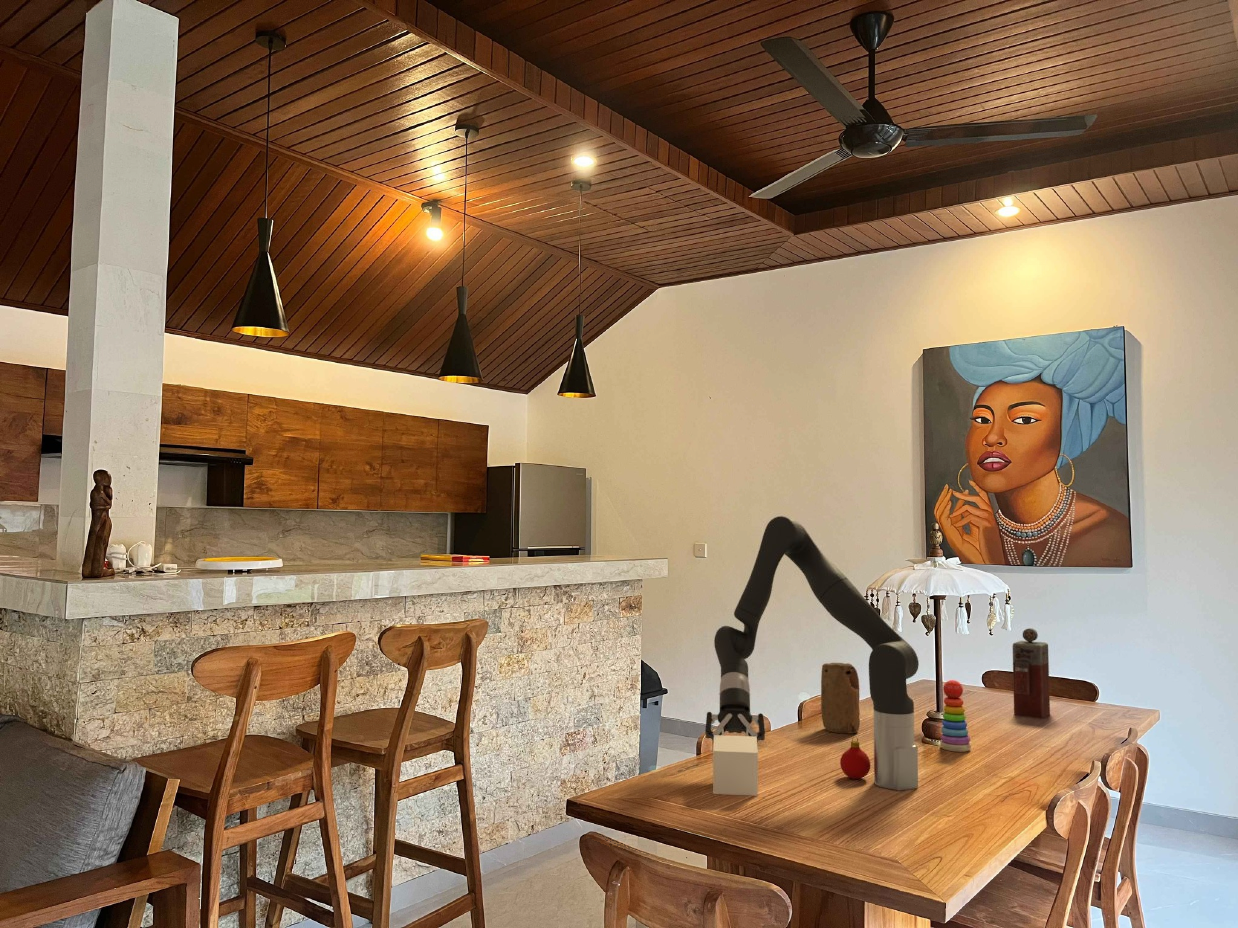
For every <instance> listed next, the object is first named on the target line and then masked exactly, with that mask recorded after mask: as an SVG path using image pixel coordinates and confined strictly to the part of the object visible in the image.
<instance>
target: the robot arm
mask: <svg viewBox="0 0 1238 928" xmlns="http://www.w3.org/2000/svg"><path fill="white" fill-rule="evenodd" d="M760 542H761V543H760V546H759V549H758V551H757V552H758V553H757V555H756V557H755V558H756V560H755V562H754V565H753V568H752V571H751V574H750V575H749V579H748V581H747V584H746V585H745V588H744V590H743V592H742V594H741V596H740V598H739V601H738V602H737V605H736V607H735V609H734V611H733V616H734V618H735V619H737V621H739V622H740V623H742V624H743V627H744V628H743V631H742V630H740V629H737V628H736V627H735V628H734V627H733V626H730V625H722V626H721V627H719V628H718V629H717V631H716V632H715V634H714V640H713V641H714V642H713V643H714V650H715V652H716V653H715V654H716V656H717V657H716V658H717V660H718V663H719V665H720V666H719V667H720V683H719V693H718V694H719V712H718V714H713V713H712V712H711V711H707V712H706V718H705V730H704V731H705V733H704V734H705V738H706V739H710V740H712V744H713V743H714V735H725V733H727V732H728V733H729V734H731V733H732V734H733V733H737V734H742V733H744V734H745V736H753V737H757V749H759V748H758V746H759V745H758V742H759V741H764V740H765V739H766V737H765V736H766V729H765V720H764V714H763V713H758V714H757V715H753V714H751V693H750V692H751V691H750V687H751V686H750V682H749V665H748V662H747V659H748V658H749V657H751V655H752V654H753V652H754V649H755V646H756V639H757V633H758V628H759V625H760V621H761V620H762V617H763V615H764V612H765V610H766V608H767V606H768V605H769V601H770V598H771V594H772V591H773V583H774V578H775V575H776V572H777V569H778V566H779V564H780V562H781V560H782V558H783V557H784V556H785V557H787V558H789V560H790V561H792V562H793V564H795V566H797V568H798V569H799V570H800V571H801V573H803V575H804V577H805V579H806V580H807V583H808V585H809V587H810V589H811V592H812V593H813V595H814V596H815V598H816V600H817V601H818V602H819V604H821V605H822V607H824V609H825V610H826V611H827V612H828V614H829V615H830V616H832V618H834V620H835V621H837V622H838V623H839V624H842V625H843V626H844V627H845V628H847V629H849V630H850V631H852V632H853V633H854V634H856V635H857V636H858V637H860V638H861V639H862V640H863V641H864V642H865V643H866V644H867V645H868V646H869V647H870V648H871V652H870V654H869V658H868V681H869V683H868V684H869V694H870V695H869V696H870V699H871V701H872V704H873V705H872V706H873V707H872V708H873V772H874V773H873V776H874V777H873V778H874V779H873V780H874V784H875V785H876V786H878V787H880V788H884V789H890V790H896V791H904V790H911V789H917V788H919V762H918V761H919V759H918V758H919V756H918V755H919V754H918V753H919V751H918V746H917V745H915V707H914V706H915V704H914V700H913V698H911V697H909V694H908V689H907V680H908V679H910V678H912V677H914V676H915V675H916V673H917V672H918V669H919V662H920V661H919V657H918V656H917V652H916V651H915V650H914V648H913V646H912V645H910V644H909V642H907V641H906V640H905V639H904V638H903V637H901V635H899V633H897V632H896V630H895V629H893V628H892V627H891V626H890V625H889V624H888V623H887V622H886V621H885V620H884V619H883V618H882V617H881V616H880V615H879V613H878V612H877V610H875V608H874V607H873V606H872V605H871V604H870V603H869V602H868V600H867V599H866V598H865V597H864V596H863V594H862V593H861V592H860V591H859V589H858V588H856V586H855V585H854V584H853V583H852V581H851V580H850V579H849V578H848V577H847V576H846V575H845V574H844V573H843V572H842V571H841V570H840V569H839V567H837V566H836V565H835V564H834V562H832V561H831V560H830V559H828V557H827V556H826V555H825V554H824V553H823V552H822V550H821V549H820V548H819V547H818V545H817V543H815V541H814V540H813V539H812V537H811V536H810V534H809V532H808V531H807V530H806V528H805V527H804V526H803V525H802V524H801V523H800V522H798V521H796V520H795V519H792V518H790V517H787V516H783V515H780V516H776V517H774V518H772V519H770V520H769V522H768V523H767V524H766V526H765V528H764V532H763V535H762V539H761V541H760ZM716 721H718V723H719V724H718V725H717V727H716V729H715V730H712V725H714V724H715V722H716ZM753 722H754V724H755V725H756V726H758V732H757V731H756V730H755V729H754V728H753V726H752V725H751V724H752V723H753Z"/></svg>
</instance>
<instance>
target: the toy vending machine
mask: <svg viewBox="0 0 1238 928" xmlns="http://www.w3.org/2000/svg"><path fill="white" fill-rule="evenodd" d="M1022 638H1023V639H1024V640H1018V641H1016V642H1014V643H1012V675H1013V676H1012V678H1013V679H1012V681H1013V685H1012V687H1013V715H1015V716H1021V717H1028V718H1035V719H1045V718H1047V717H1048V716H1050V715H1051V707H1050V705H1051V704H1050V703H1051V702H1050V701H1051V699H1050V668H1049V667H1050V665H1049V664H1050V663H1049V644H1048V642H1042V641H1036V640H1037V639H1038V631H1037V630H1036V629H1034V628H1030V627H1029V628H1026V629H1024V630H1023V631H1022Z"/></svg>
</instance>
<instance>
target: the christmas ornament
mask: <svg viewBox="0 0 1238 928" xmlns="http://www.w3.org/2000/svg"><path fill="white" fill-rule="evenodd" d="M854 738H856V739H857V741H856V740H854ZM839 760H840V761H839V765H840V769H841V770H842V772H843V774H844V775H845V776H847V778H849V779H852V780H860V779H864V778H865V777H866V776H867V775H868V774H869V772H870V769H871V760H870V758H869V756H868V754H867V753H866V752H865V751H864V750H862V749H861V748H860V742H859V738H858V737H857V736H852V739H851V741H850V748H848V749H847V750H845V751H844V752H843V753H842V755H841V757H840V759H839Z"/></svg>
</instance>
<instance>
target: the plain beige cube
mask: <svg viewBox="0 0 1238 928" xmlns="http://www.w3.org/2000/svg"><path fill="white" fill-rule="evenodd" d="M757 743H758V742H757V737H753V736H747V735H725V734H724V735H714V743H713V742H712V794H713V795H731V796H753V797H758V796H759V795H758V791H759V789H758V787H759V785H758V781H759V780H758V778H759V774H758V773H759V769H758V767H759V766H758V765H759V764H758V763H759V760H758V758H759V756H758V755H759V753H758V752H759V751H758V749H759V748H758V749H757Z"/></svg>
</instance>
